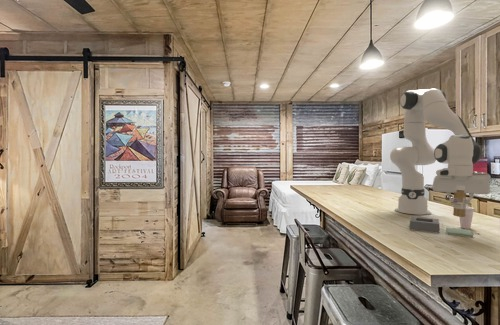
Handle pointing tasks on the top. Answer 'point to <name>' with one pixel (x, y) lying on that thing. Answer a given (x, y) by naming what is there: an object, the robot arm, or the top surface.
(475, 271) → the top surface
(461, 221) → the smoothie
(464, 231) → the rubber mat
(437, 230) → the socket block
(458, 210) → the sprinkles bottle
